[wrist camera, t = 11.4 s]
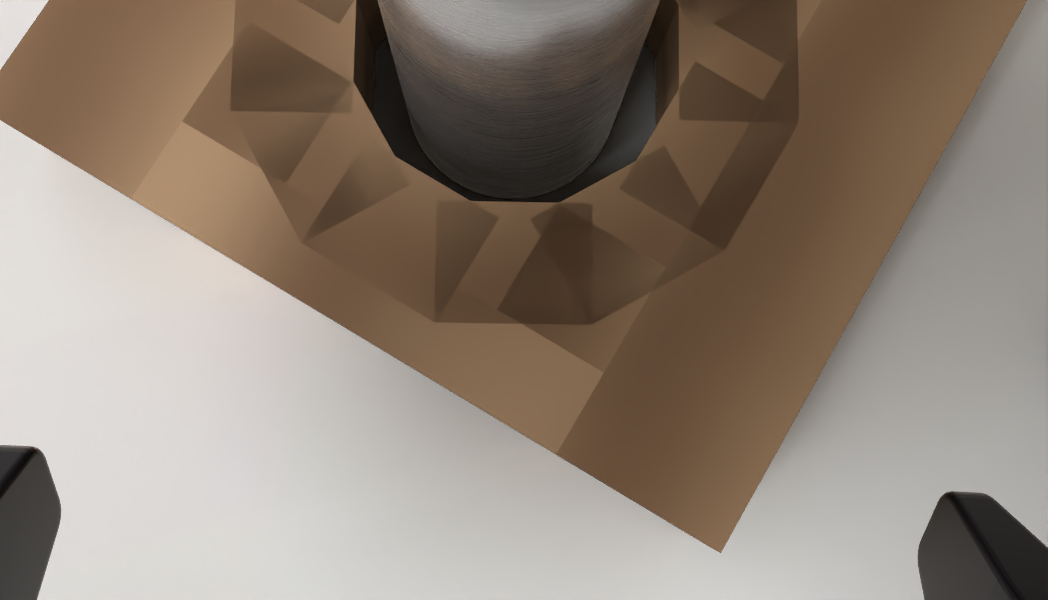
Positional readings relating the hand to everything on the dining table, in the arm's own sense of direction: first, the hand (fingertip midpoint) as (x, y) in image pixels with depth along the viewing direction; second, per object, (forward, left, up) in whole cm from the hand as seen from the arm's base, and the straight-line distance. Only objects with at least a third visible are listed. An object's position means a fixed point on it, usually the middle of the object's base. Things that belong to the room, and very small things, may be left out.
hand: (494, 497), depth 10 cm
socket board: (+3, -6, -8) cm, 11 cm away
